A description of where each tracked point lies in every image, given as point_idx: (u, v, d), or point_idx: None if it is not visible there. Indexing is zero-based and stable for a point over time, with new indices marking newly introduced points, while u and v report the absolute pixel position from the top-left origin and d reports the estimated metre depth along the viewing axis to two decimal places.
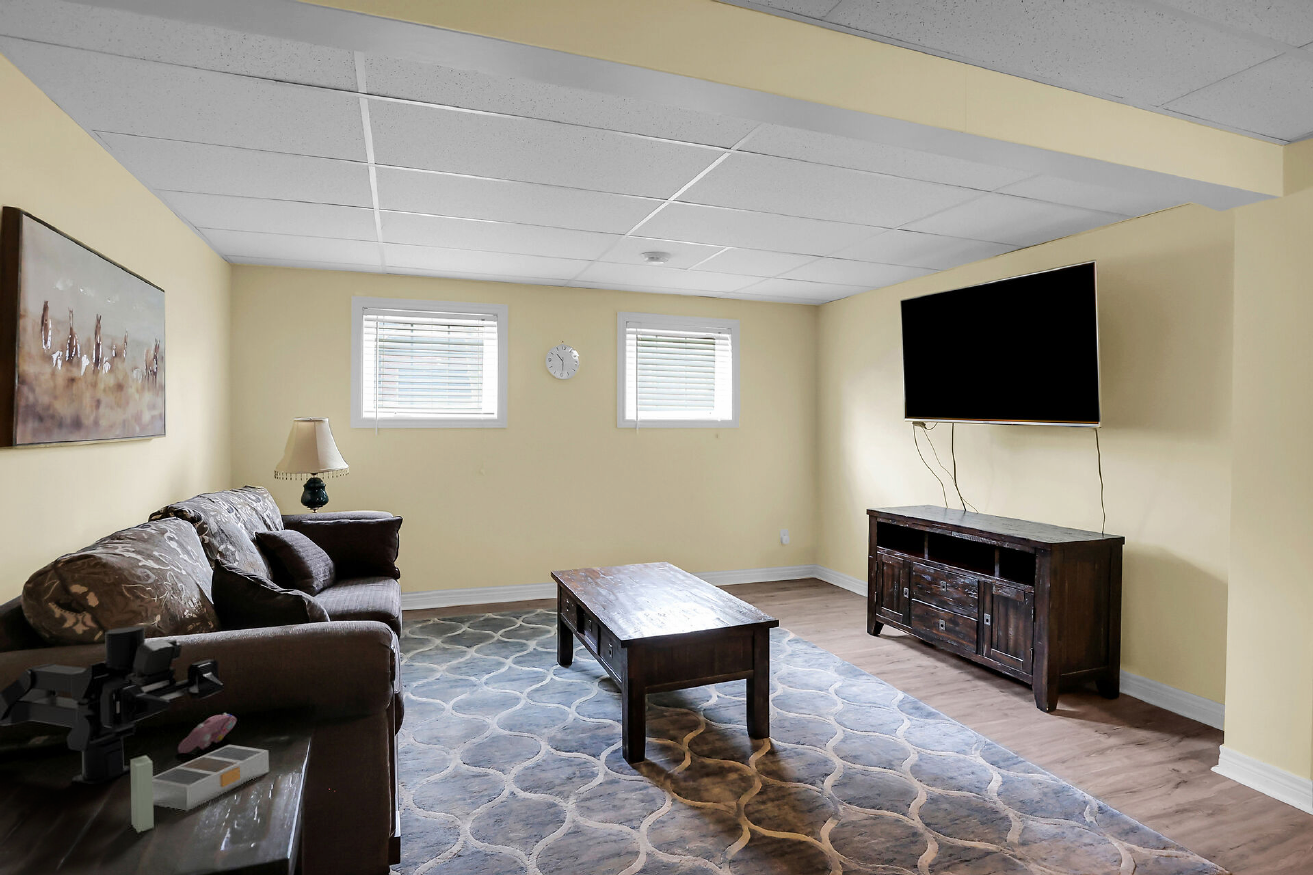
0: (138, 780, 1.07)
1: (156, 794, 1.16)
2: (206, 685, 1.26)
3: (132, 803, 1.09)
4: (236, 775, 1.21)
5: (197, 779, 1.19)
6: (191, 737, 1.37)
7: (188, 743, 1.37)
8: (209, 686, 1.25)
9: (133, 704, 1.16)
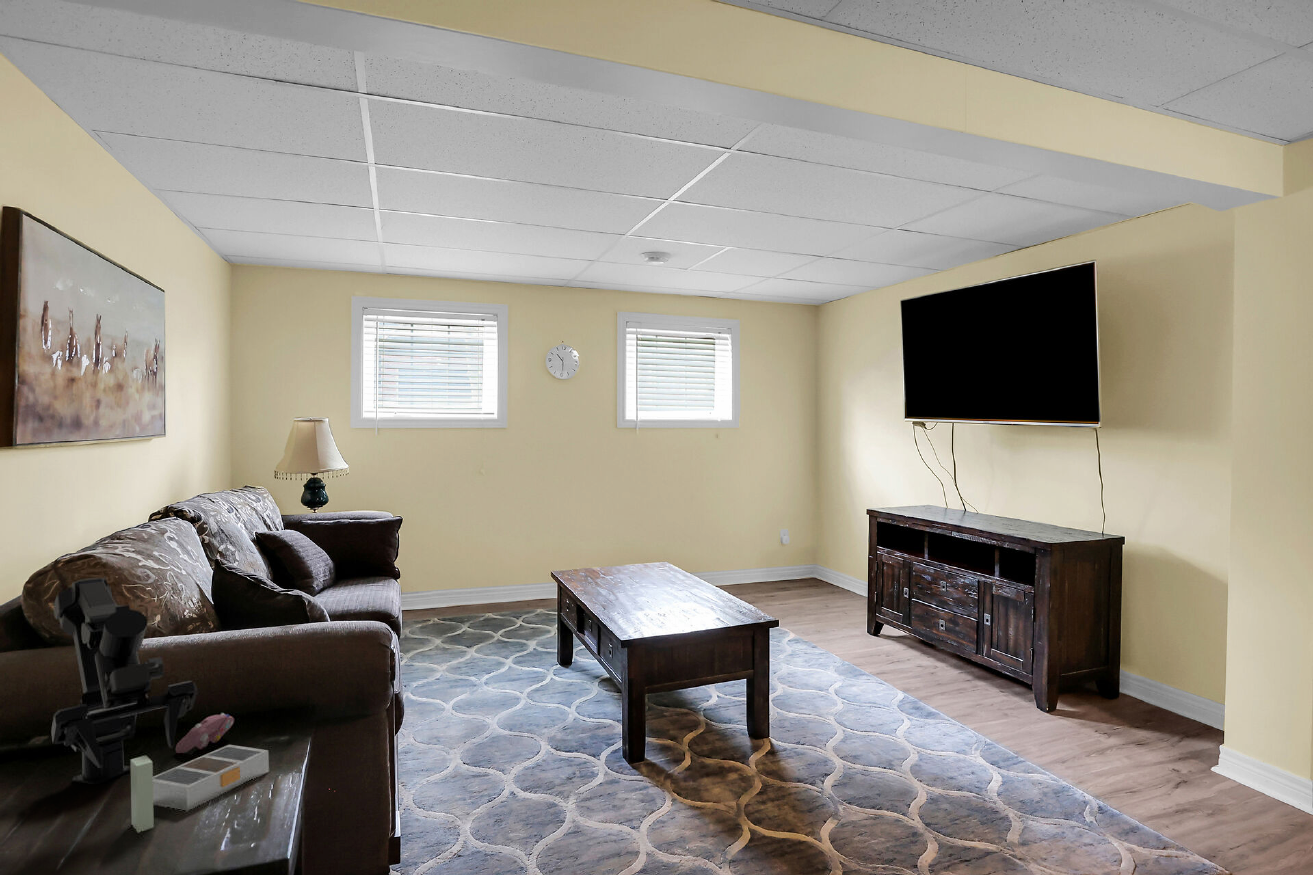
0: (138, 780, 1.07)
1: (156, 794, 1.16)
2: (167, 724, 1.17)
3: (132, 803, 1.09)
4: (236, 775, 1.21)
5: (197, 779, 1.19)
6: (189, 737, 1.37)
7: (185, 743, 1.37)
8: (167, 729, 1.16)
9: None
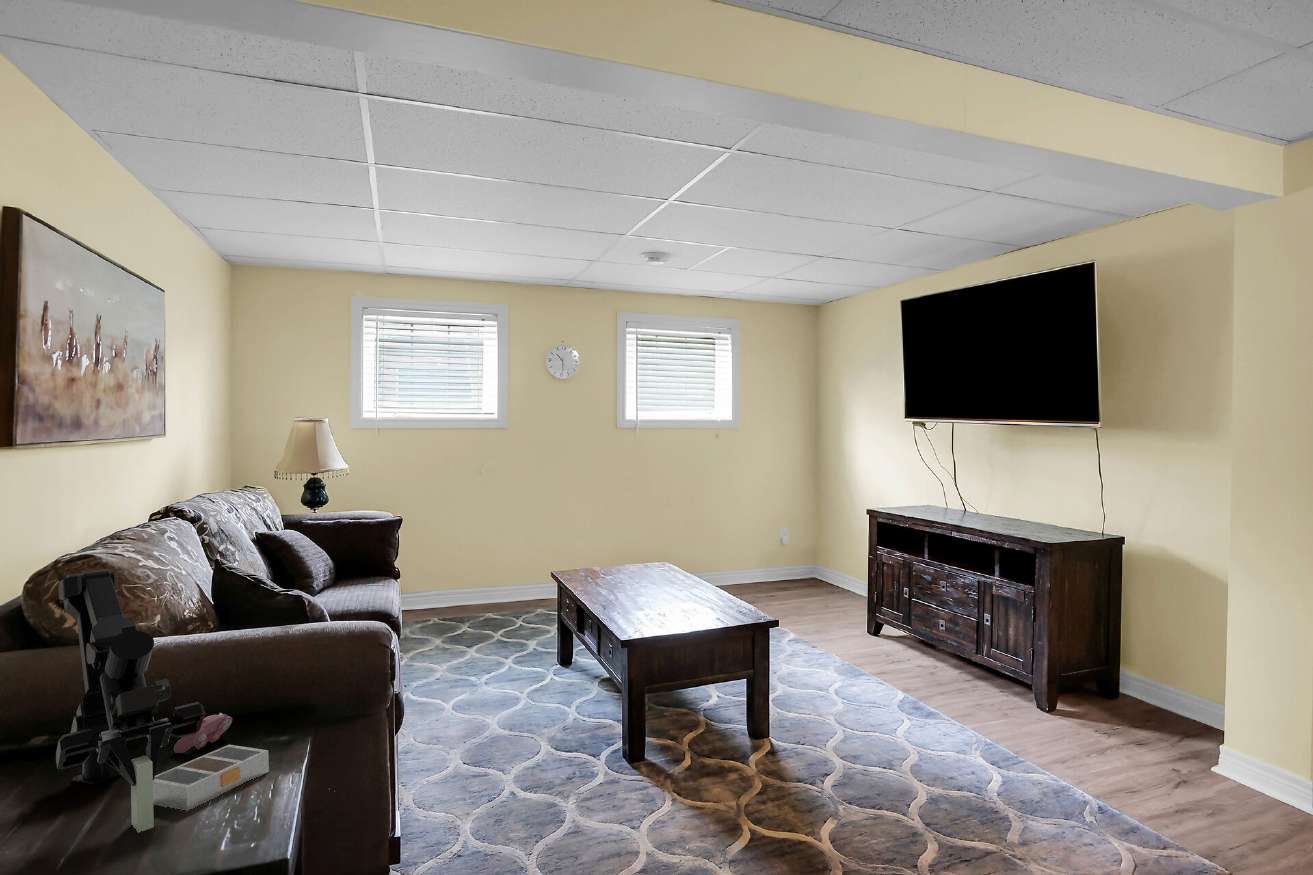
0: (138, 780, 1.07)
1: (156, 794, 1.16)
2: (149, 755, 1.12)
3: (132, 803, 1.09)
4: (236, 775, 1.21)
5: (197, 779, 1.19)
6: (187, 737, 1.37)
7: (184, 743, 1.37)
8: None
9: None
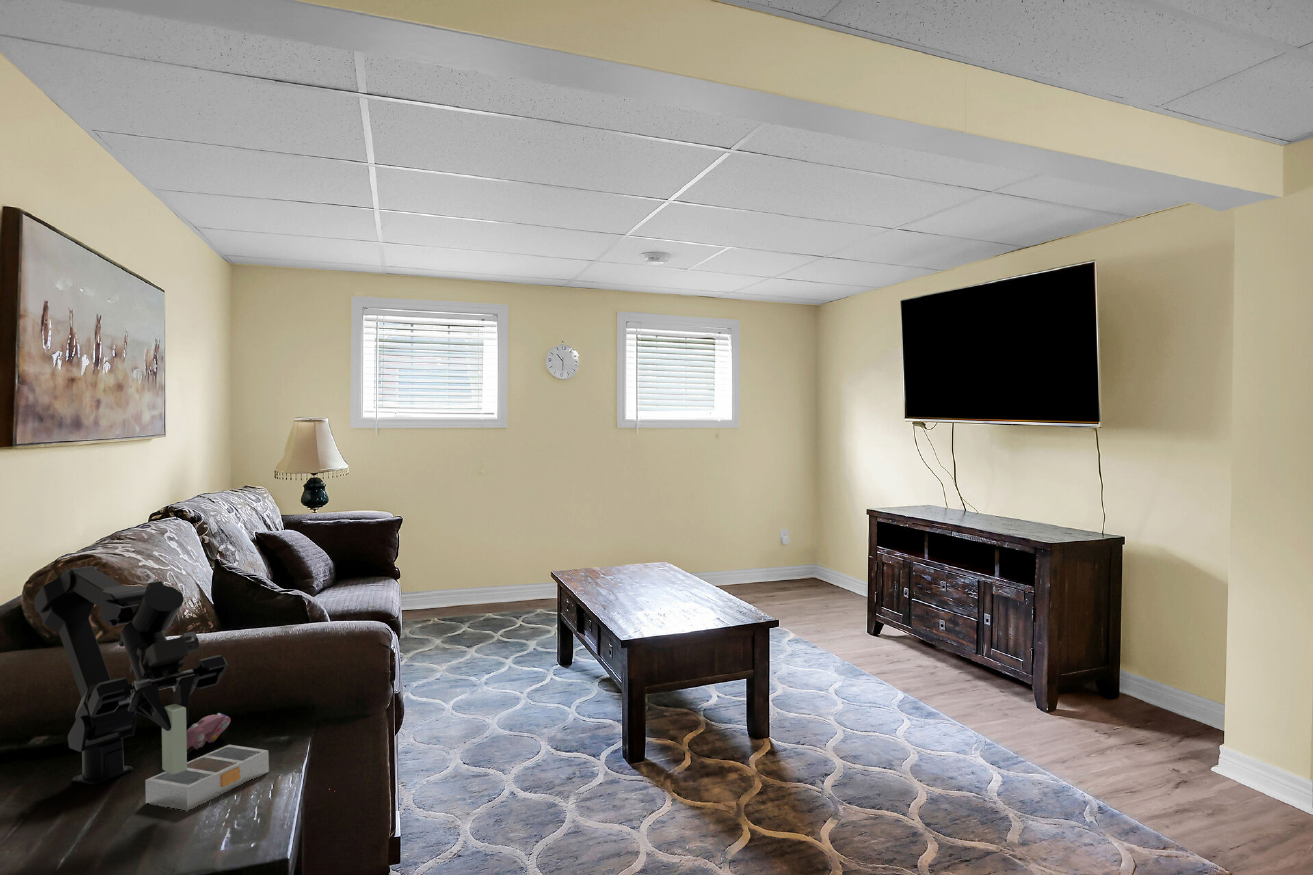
0: (173, 725, 1.13)
1: (156, 794, 1.16)
2: (178, 703, 1.17)
3: (164, 748, 1.14)
4: (236, 775, 1.21)
5: (197, 779, 1.19)
6: None
7: None
8: None
9: (146, 698, 1.14)
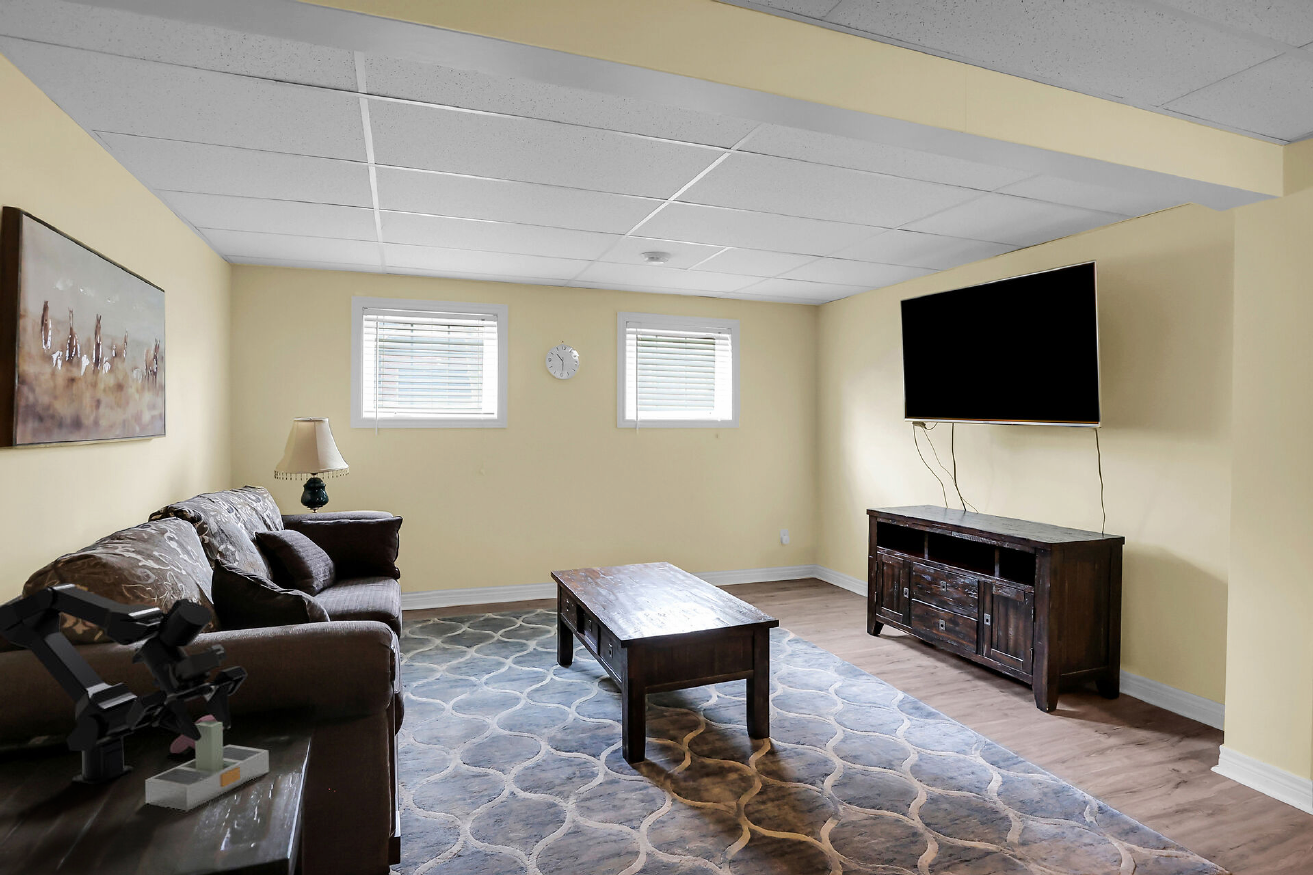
0: (212, 739, 1.21)
1: (156, 794, 1.16)
2: (217, 708, 1.26)
3: (198, 763, 1.21)
4: (236, 775, 1.21)
5: (197, 779, 1.19)
6: (183, 737, 1.37)
7: (180, 743, 1.37)
8: (219, 713, 1.25)
9: (171, 712, 1.20)
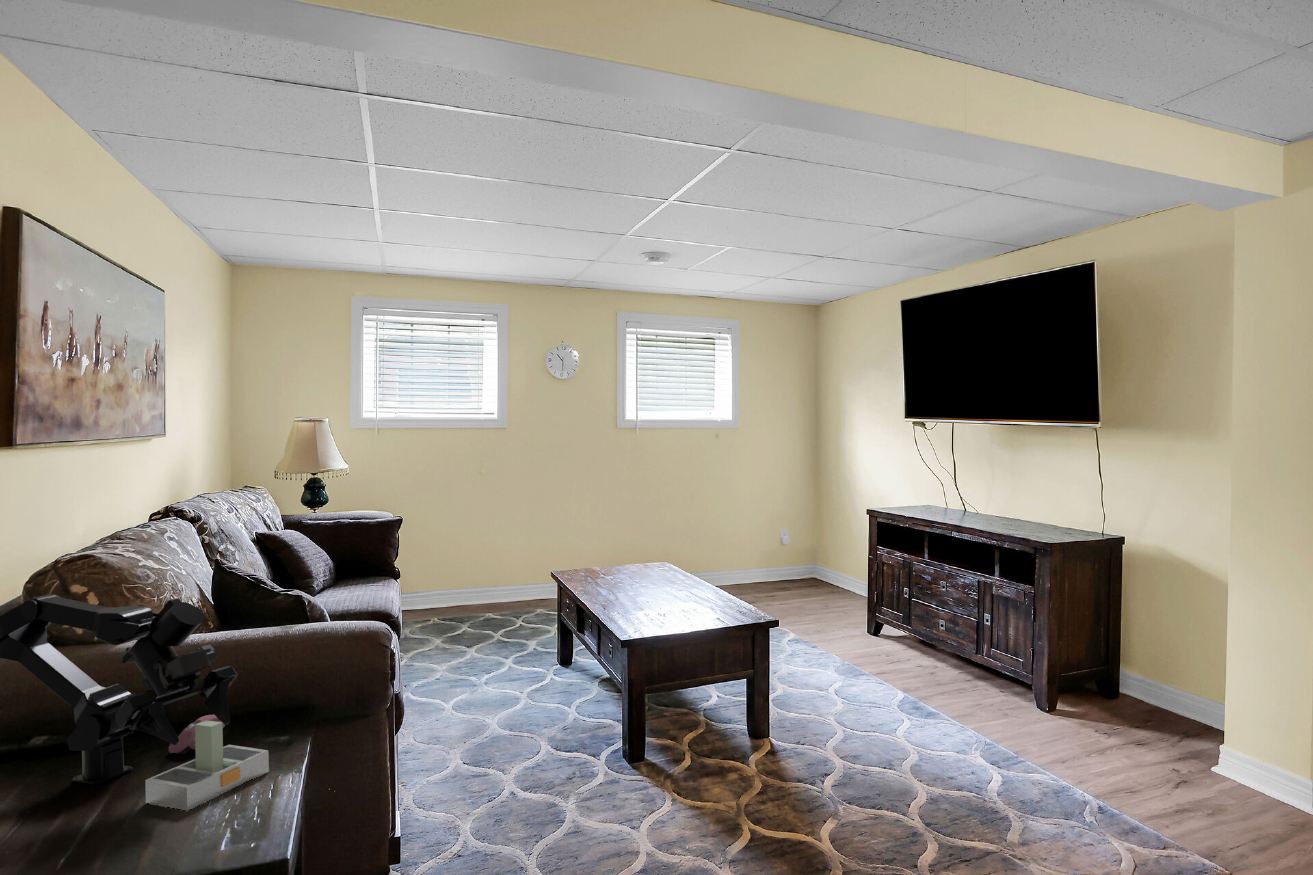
0: (212, 739, 1.21)
1: (156, 794, 1.16)
2: (216, 705, 1.28)
3: (198, 763, 1.21)
4: (236, 775, 1.21)
5: (197, 779, 1.19)
6: (182, 737, 1.37)
7: (178, 743, 1.37)
8: (218, 709, 1.28)
9: (149, 716, 1.19)
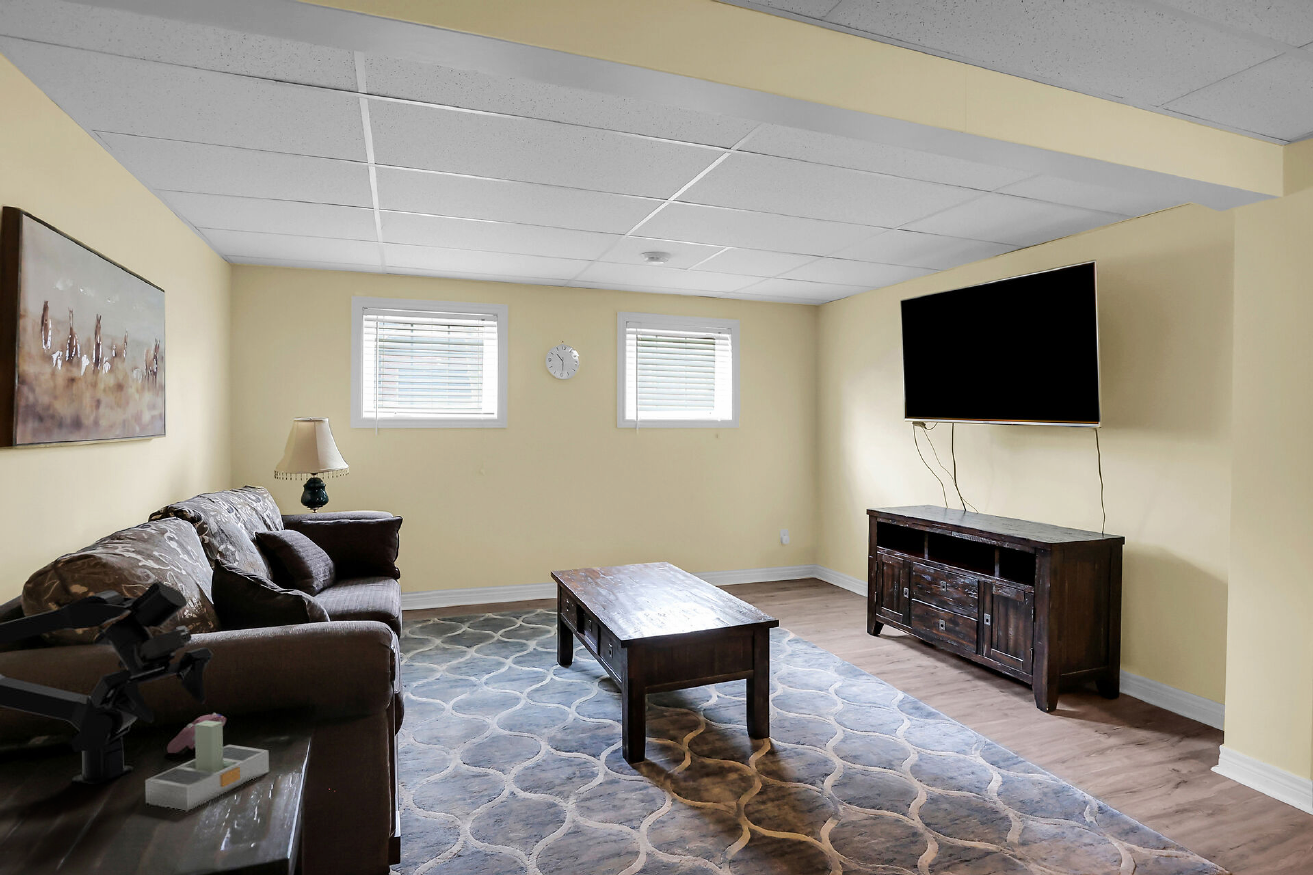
0: (212, 739, 1.21)
1: (156, 794, 1.16)
2: (192, 685, 1.31)
3: (198, 763, 1.21)
4: (236, 775, 1.21)
5: (197, 779, 1.19)
6: (180, 737, 1.37)
7: (177, 743, 1.37)
8: (194, 689, 1.30)
9: (124, 694, 1.21)
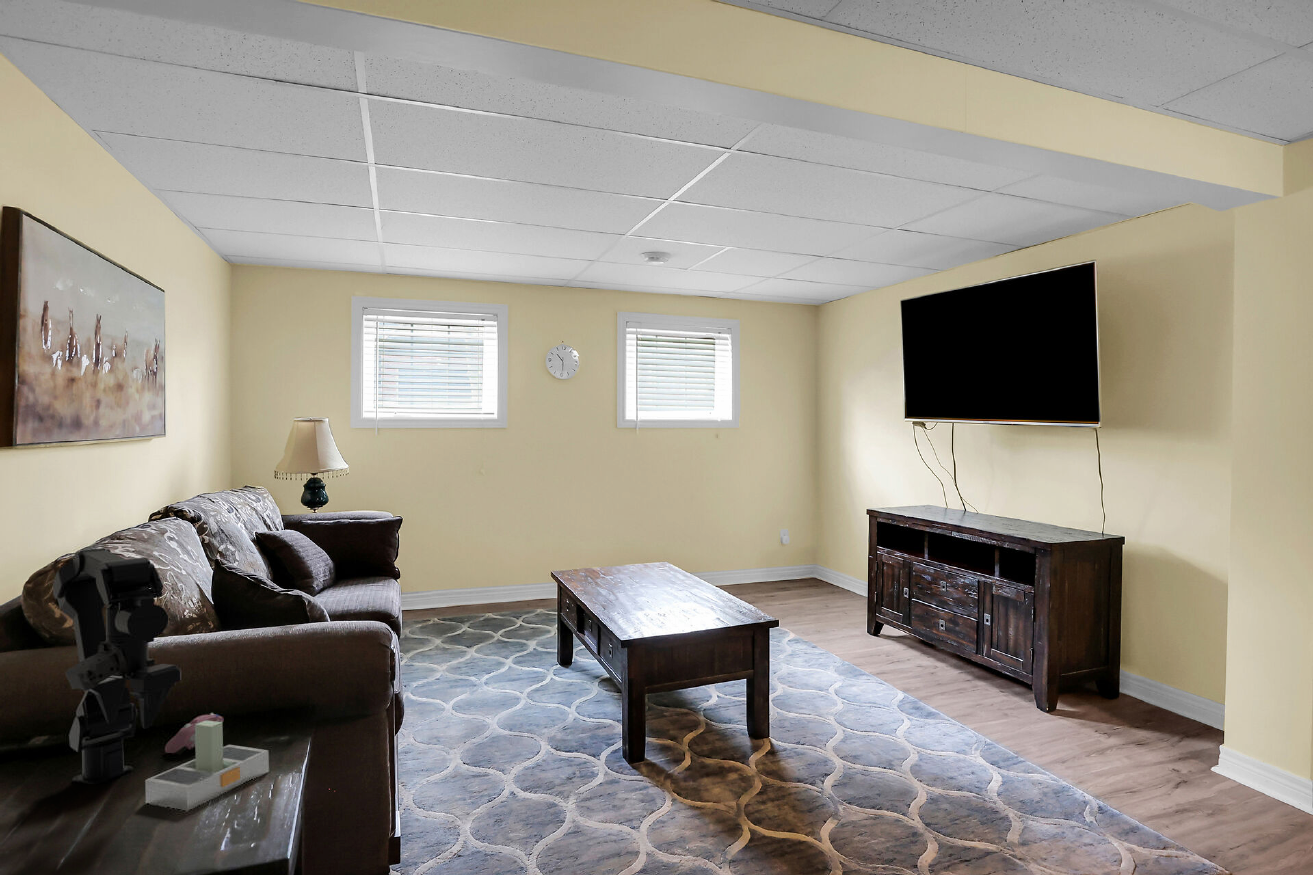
0: (212, 739, 1.21)
1: (156, 794, 1.16)
2: None
3: (198, 763, 1.21)
4: (236, 775, 1.21)
5: (197, 779, 1.19)
6: (178, 737, 1.37)
7: (175, 743, 1.37)
8: None
9: None
